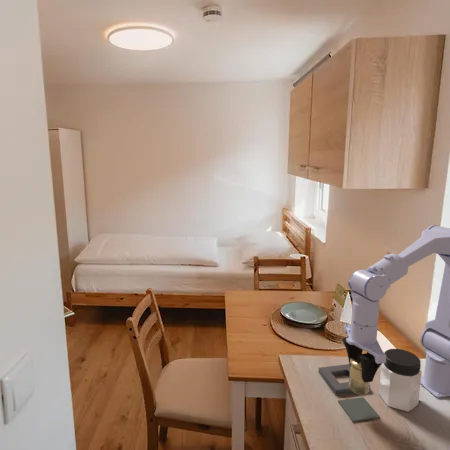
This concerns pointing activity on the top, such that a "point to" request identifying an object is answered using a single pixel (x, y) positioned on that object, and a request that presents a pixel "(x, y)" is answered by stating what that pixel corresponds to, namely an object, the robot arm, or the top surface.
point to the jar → (400, 379)
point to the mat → (358, 409)
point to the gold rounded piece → (357, 377)
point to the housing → (332, 382)
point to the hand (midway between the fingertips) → (360, 373)
